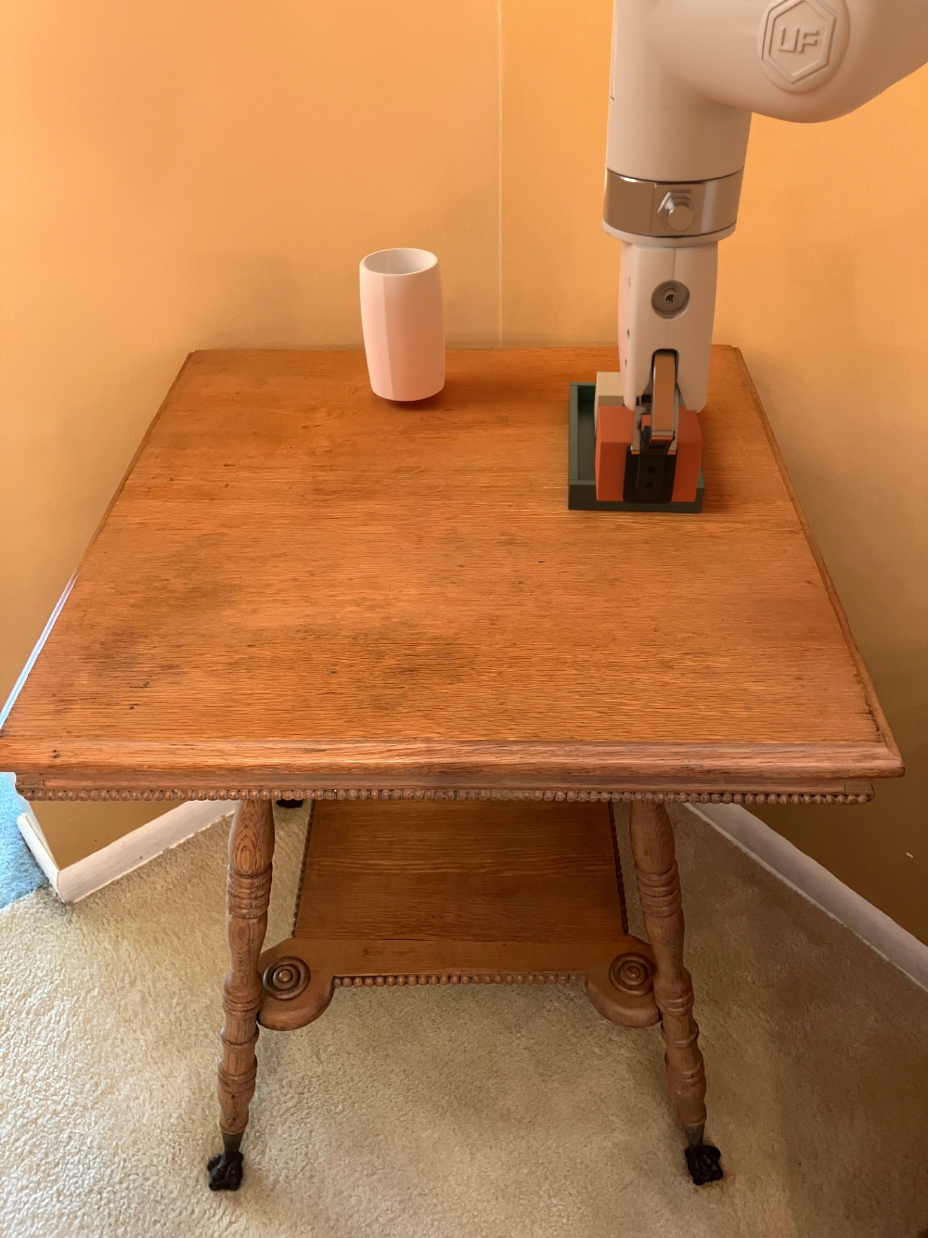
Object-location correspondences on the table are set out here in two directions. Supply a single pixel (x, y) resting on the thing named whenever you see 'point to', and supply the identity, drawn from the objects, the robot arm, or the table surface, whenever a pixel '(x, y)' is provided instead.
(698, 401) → the robot arm
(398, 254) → the cup
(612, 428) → the orange-red block
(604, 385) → the cream white rectangular block
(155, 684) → the table surface
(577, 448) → the tray
